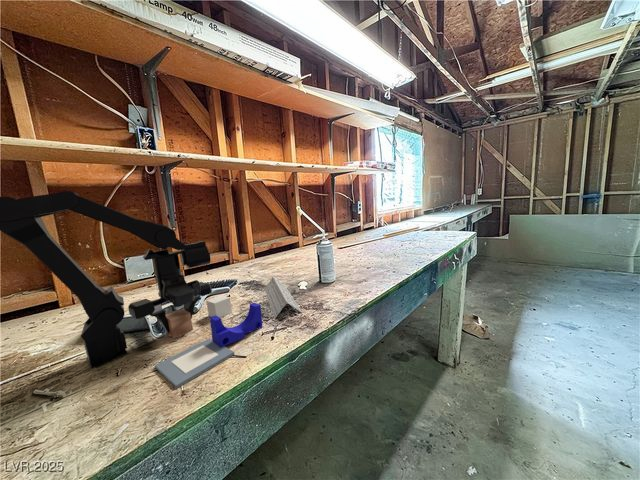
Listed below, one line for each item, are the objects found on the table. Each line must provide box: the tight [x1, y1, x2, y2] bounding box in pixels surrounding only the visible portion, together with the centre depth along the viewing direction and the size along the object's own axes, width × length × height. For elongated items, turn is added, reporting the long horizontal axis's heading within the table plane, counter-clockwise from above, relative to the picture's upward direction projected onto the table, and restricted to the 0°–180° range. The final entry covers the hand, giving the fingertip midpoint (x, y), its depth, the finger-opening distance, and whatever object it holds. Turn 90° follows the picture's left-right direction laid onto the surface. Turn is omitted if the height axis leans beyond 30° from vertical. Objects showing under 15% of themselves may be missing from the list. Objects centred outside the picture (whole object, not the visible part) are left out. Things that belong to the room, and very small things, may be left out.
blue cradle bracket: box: [209, 302, 263, 348], centre depth 63 cm, size 12×4×6 cm, turn 135°
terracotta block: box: [166, 308, 194, 339], centre depth 68 cm, size 5×5×5 cm
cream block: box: [205, 294, 233, 319], centre depth 77 cm, size 5×5×5 cm
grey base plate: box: [154, 338, 235, 389], centre depth 54 cm, size 12×11×1 cm
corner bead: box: [263, 275, 302, 319], centre depth 86 cm, size 29×9×5 cm, turn 18°
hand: (179, 328), depth 68 cm, fingers closed on terracotta block, 5 cm apart
